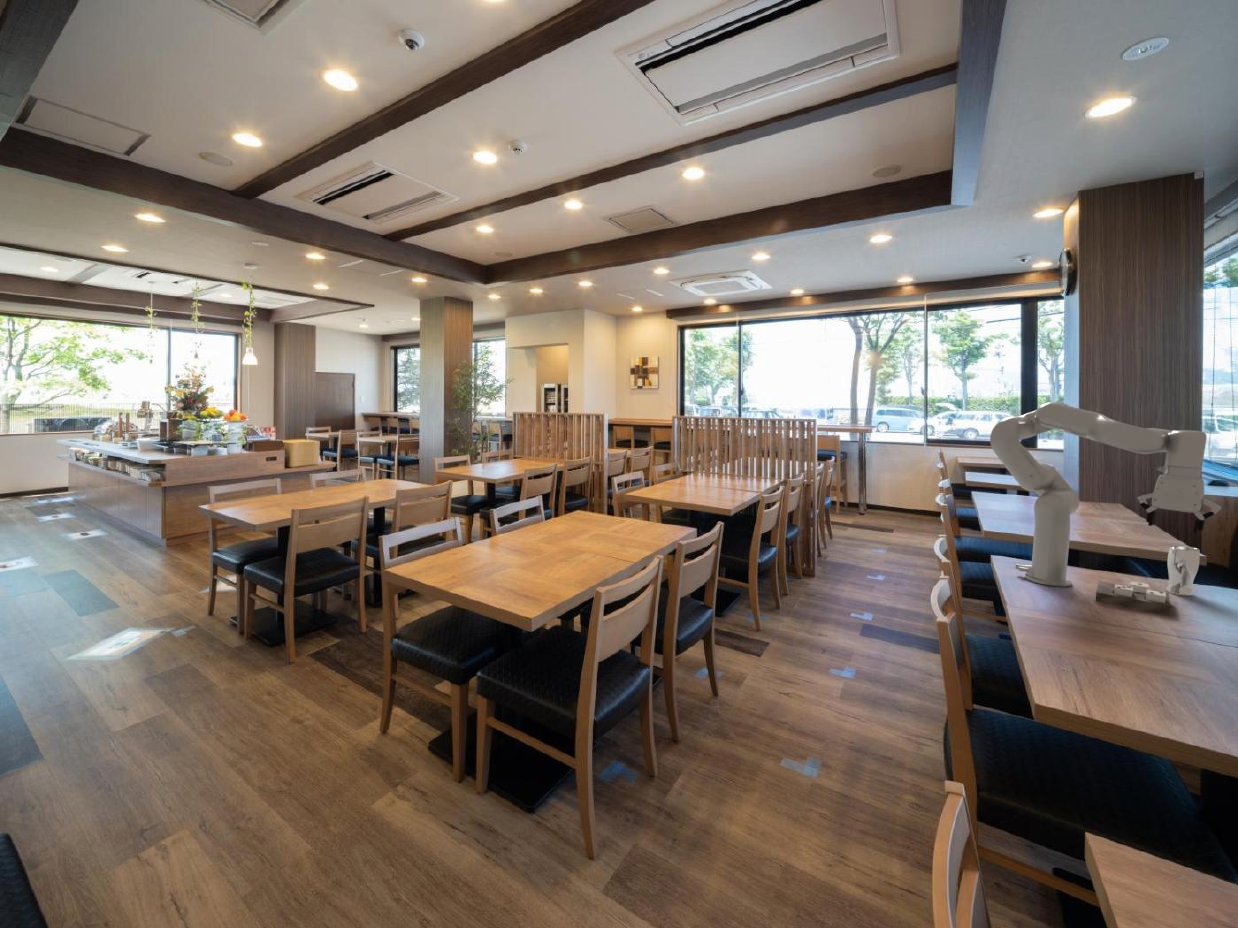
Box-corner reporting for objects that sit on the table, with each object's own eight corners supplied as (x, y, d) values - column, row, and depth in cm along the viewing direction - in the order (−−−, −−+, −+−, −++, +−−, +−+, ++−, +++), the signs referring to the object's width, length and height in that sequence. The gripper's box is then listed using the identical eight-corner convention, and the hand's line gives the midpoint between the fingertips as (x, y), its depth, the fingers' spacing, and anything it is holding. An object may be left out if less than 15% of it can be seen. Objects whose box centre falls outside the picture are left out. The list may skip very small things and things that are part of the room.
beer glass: (1180, 589, 173) (1186, 545, 172) (1202, 597, 167) (1207, 551, 165) (1157, 588, 174) (1162, 544, 172) (1177, 596, 167) (1183, 550, 166)
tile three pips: (1113, 596, 162) (1114, 586, 162) (1114, 593, 165) (1115, 583, 165) (1131, 600, 159) (1132, 590, 159) (1131, 596, 162) (1133, 586, 162)
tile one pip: (1129, 593, 165) (1130, 583, 164) (1130, 590, 168) (1131, 580, 167) (1147, 596, 162) (1149, 586, 162) (1147, 593, 165) (1148, 583, 164)
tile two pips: (1145, 602, 157) (1146, 592, 157) (1145, 598, 160) (1146, 589, 160) (1164, 606, 155) (1166, 595, 154) (1164, 602, 157) (1165, 592, 157)
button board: (1095, 601, 164) (1096, 592, 164) (1098, 589, 174) (1098, 581, 173) (1169, 615, 153) (1170, 605, 152) (1167, 602, 163) (1168, 592, 162)
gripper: (1138, 469, 160) (1130, 524, 163) (1222, 477, 146) (1212, 537, 148) (1146, 467, 164) (1138, 521, 166) (1229, 475, 150) (1219, 533, 152)
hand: (1173, 528), depth 157 cm, fingers open, 9 cm apart
